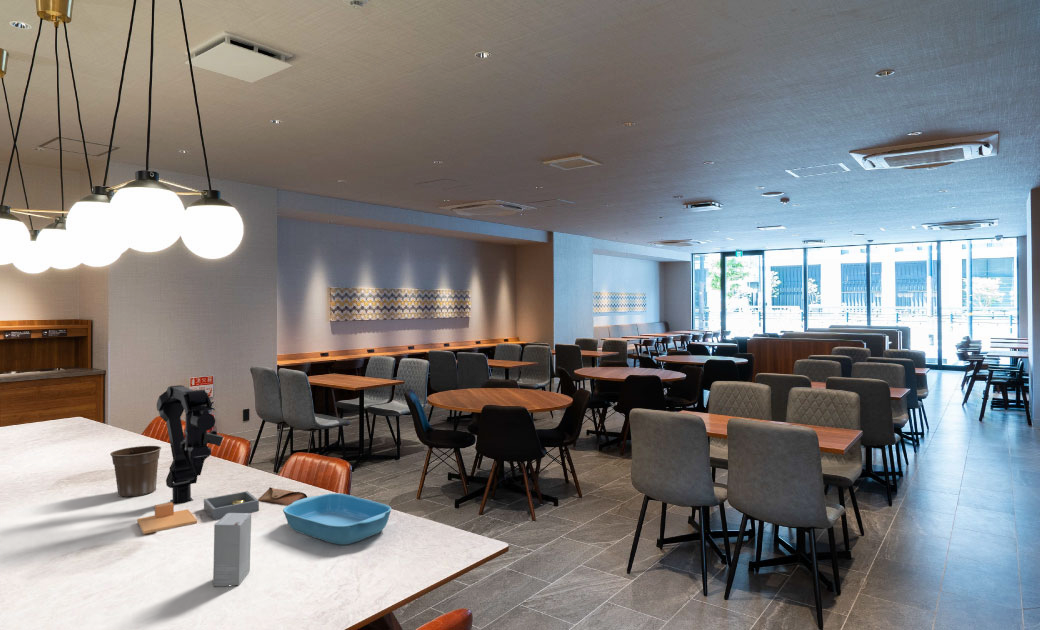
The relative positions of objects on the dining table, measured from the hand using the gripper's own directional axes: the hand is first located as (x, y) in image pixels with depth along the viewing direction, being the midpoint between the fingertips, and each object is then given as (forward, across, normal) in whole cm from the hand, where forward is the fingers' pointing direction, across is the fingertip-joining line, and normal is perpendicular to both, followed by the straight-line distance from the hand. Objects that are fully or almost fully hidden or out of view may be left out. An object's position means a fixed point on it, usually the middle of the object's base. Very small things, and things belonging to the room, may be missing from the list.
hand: (195, 472), depth 206 cm
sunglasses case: (+14, -9, -25) cm, 30 cm away
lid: (+13, -9, +10) cm, 19 cm away
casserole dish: (+14, -49, -30) cm, 59 cm away
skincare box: (+13, -66, +4) cm, 67 cm away
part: (+12, -6, -12) cm, 18 cm away
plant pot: (+13, +38, +13) cm, 42 cm away
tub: (+13, -9, -9) cm, 18 cm away
